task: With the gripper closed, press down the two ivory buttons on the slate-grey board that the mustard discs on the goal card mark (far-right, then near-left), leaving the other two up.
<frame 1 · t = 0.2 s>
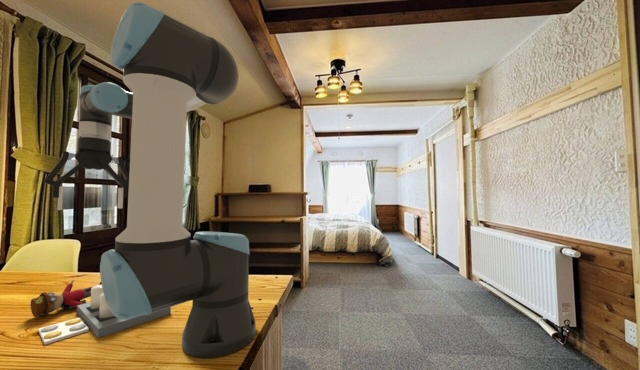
hand: (91, 209, 77), 27 cm above the table, fingers open, 13 cm apart
button near right: (147, 294, 70), point 5 cm above the table, slide at 0.0 cm
button near left: (110, 303, 63), point 5 cm above the table, slide at 0.0 cm
button far right: (136, 287, 75), point 5 cm above the table, slide at 0.0 cm
button far left: (100, 296, 68), point 5 cm above the table, slide at 0.0 cm
board: (123, 313, 69), on the table
goal card: (63, 331, 60), on the table
toy: (70, 309, 72), on the table
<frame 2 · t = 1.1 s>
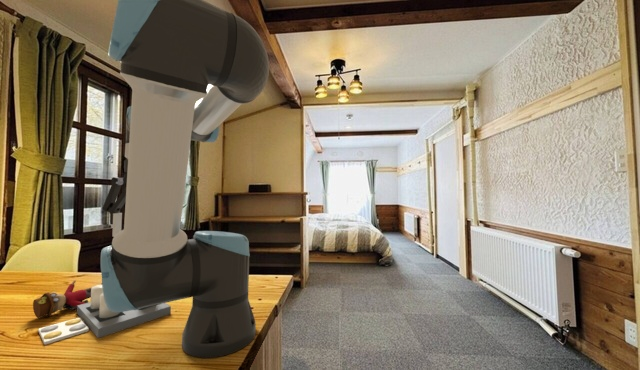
hand: (137, 235, 75), 20 cm above the table, fingers open, 10 cm apart
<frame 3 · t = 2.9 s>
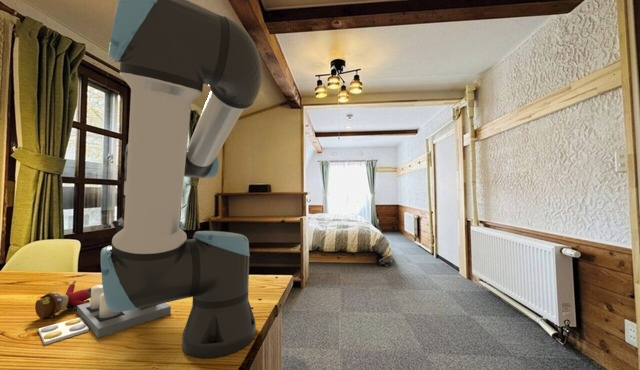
hand: (136, 277, 75), 8 cm above the table, fingers closed
button far right: (136, 287, 75), point 5 cm above the table, slide at 0.0 cm, touching gripper
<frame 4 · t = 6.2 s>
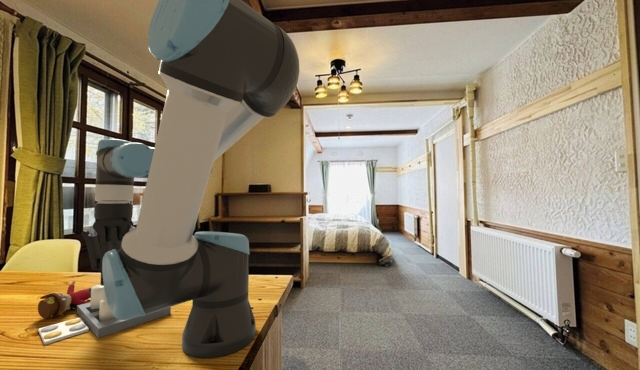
hand: (110, 298, 64), 6 cm above the table, fingers closed
button near left: (110, 310, 63), point 3 cm above the table, slide at 1.5 cm, touching gripper
button far right: (136, 294, 75), point 3 cm above the table, slide at 2.0 cm
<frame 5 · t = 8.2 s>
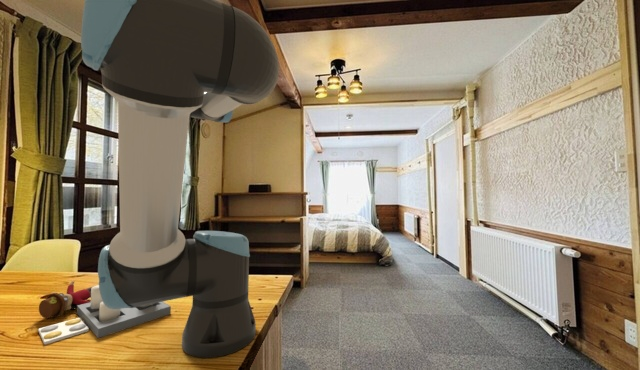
hand: (151, 225, 72), 23 cm above the table, fingers closed
button near left: (109, 312, 63), point 3 cm above the table, slide at 2.0 cm
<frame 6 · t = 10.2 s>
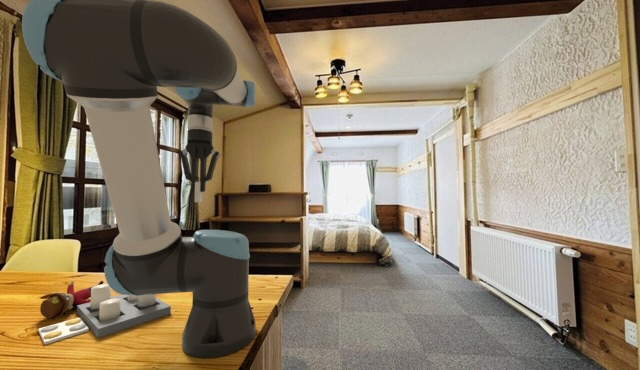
hand: (198, 201, 85), 29 cm above the table, fingers closed
at the end: button far right slide at 2.0 cm; button near left slide at 2.0 cm; button far left slide at 0.0 cm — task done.
